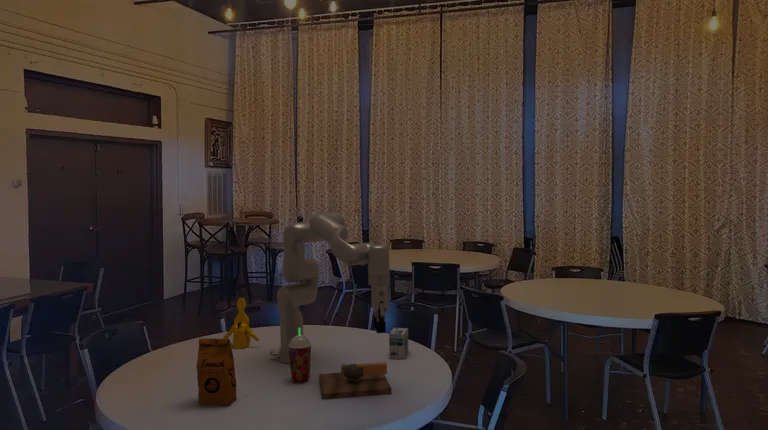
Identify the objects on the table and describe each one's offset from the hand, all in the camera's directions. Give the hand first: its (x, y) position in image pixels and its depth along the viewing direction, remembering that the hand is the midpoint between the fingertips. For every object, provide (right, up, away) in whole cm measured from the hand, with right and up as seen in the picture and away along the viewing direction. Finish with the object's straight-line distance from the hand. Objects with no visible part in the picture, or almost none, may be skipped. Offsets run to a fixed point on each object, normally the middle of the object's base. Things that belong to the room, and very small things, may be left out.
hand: (379, 330), depth 194 cm
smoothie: (-30, -22, +11) cm, 38 cm away
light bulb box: (+8, -20, +40) cm, 45 cm away
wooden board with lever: (-9, -21, +5) cm, 24 cm away
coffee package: (-55, -23, -8) cm, 60 cm away
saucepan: (-5, -17, +5) cm, 19 cm away
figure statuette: (-64, -20, +56) cm, 87 cm away
